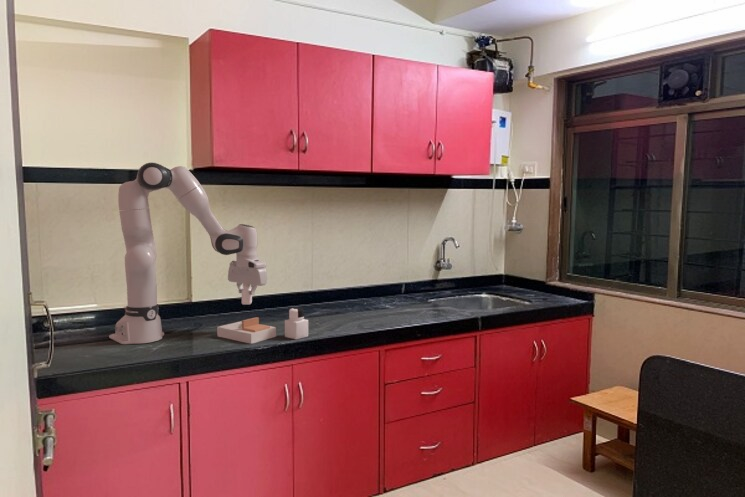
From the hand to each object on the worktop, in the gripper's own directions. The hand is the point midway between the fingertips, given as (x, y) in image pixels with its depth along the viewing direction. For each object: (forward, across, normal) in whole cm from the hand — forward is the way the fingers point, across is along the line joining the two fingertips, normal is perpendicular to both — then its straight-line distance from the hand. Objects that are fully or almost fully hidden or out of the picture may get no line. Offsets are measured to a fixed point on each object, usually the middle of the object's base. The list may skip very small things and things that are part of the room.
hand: (246, 294), depth 240 cm
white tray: (+16, +7, -6) cm, 19 cm away
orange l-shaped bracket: (+12, +12, -7) cm, 19 cm away
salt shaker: (+4, 0, 0) cm, 5 cm away
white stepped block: (+16, +24, +5) cm, 29 cm away
